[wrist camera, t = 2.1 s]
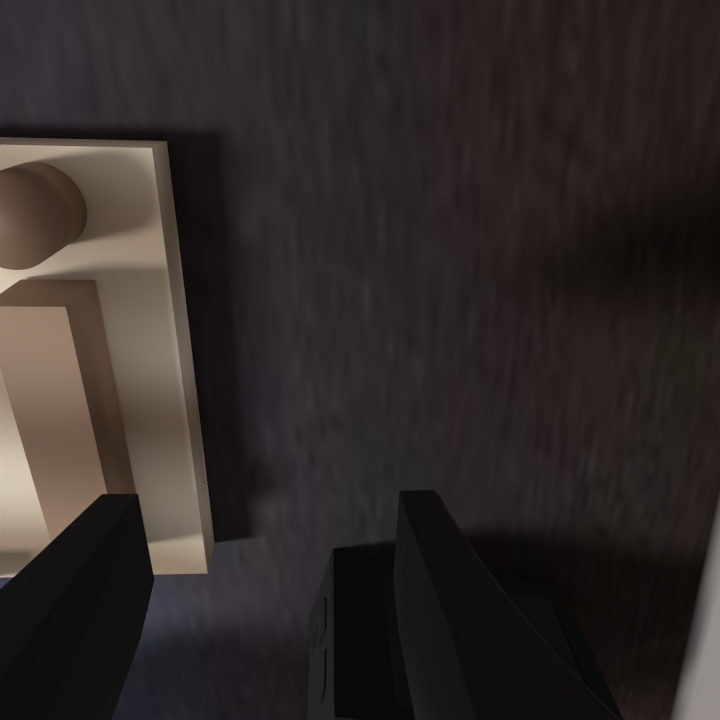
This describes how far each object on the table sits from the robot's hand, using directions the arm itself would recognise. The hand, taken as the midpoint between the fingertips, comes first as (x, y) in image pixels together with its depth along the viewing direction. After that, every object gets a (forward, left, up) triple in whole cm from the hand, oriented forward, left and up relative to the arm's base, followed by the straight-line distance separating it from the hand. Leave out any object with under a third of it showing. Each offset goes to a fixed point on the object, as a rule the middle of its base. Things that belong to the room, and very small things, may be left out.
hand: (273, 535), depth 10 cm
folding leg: (-3, +6, -8) cm, 11 cm away
